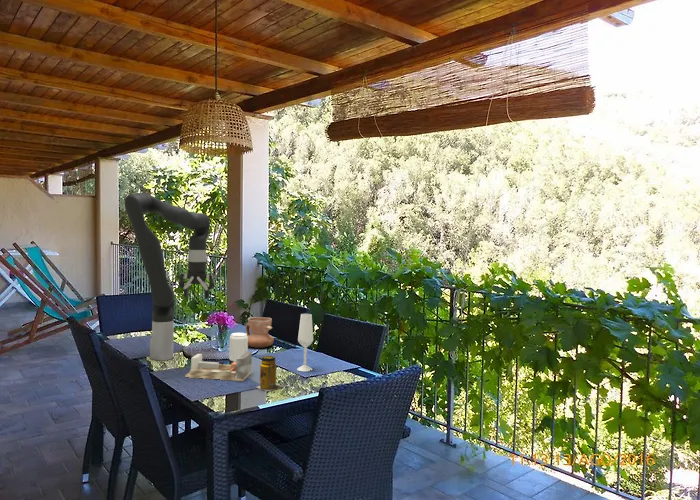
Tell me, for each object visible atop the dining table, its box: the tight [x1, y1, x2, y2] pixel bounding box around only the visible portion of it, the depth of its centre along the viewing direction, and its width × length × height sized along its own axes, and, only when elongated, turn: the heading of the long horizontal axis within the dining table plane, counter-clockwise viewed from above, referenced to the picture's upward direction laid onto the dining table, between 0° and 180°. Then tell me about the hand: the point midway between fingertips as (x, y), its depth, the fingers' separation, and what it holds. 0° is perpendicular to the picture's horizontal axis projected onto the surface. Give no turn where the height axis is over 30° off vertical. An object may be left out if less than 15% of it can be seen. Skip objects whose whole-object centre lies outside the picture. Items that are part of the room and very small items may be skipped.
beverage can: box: [228, 332, 249, 363], centre depth 249 cm, size 8×8×12 cm
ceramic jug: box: [245, 316, 275, 349], centre depth 276 cm, size 18×14×14 cm
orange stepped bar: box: [230, 361, 236, 372], centre depth 223 cm, size 2×8×3 cm, turn 175°
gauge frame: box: [184, 351, 253, 382], centre depth 225 cm, size 24×12×9 cm, turn 85°
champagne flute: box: [296, 313, 314, 372], centre depth 237 cm, size 7×7×24 cm
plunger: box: [190, 353, 220, 370], centre depth 225 cm, size 10×7×6 cm
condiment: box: [256, 355, 284, 392], centre depth 212 cm, size 7×8×12 cm
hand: (196, 298), depth 232 cm, fingers open, 8 cm apart
